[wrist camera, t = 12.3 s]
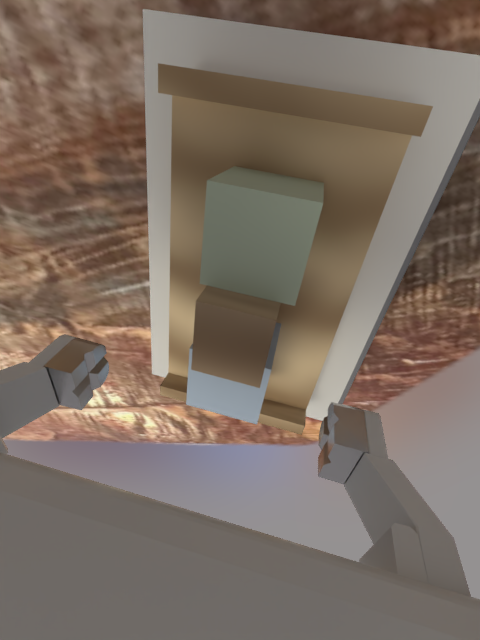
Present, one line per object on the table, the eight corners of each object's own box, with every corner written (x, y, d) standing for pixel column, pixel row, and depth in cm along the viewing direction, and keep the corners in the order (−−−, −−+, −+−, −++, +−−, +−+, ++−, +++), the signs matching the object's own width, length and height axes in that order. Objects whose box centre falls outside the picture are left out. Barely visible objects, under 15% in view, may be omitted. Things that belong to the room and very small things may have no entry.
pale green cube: (234, 166, 16) (206, 180, 12) (323, 182, 15) (323, 202, 12) (225, 250, 18) (199, 283, 15) (301, 267, 18) (295, 306, 14)
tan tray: (188, 73, 16) (90, 40, 9) (411, 109, 15) (482, 100, 8) (177, 365, 27) (130, 444, 20) (304, 399, 26) (297, 495, 19)
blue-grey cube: (214, 307, 21) (189, 348, 17) (281, 323, 20) (271, 369, 16) (208, 358, 23) (186, 404, 19) (268, 374, 23) (256, 424, 19)
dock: (175, 28, 18) (142, 8, 15) (472, 71, 16) (508, 59, 13) (170, 347, 32) (152, 373, 28) (332, 390, 30) (333, 423, 26)
